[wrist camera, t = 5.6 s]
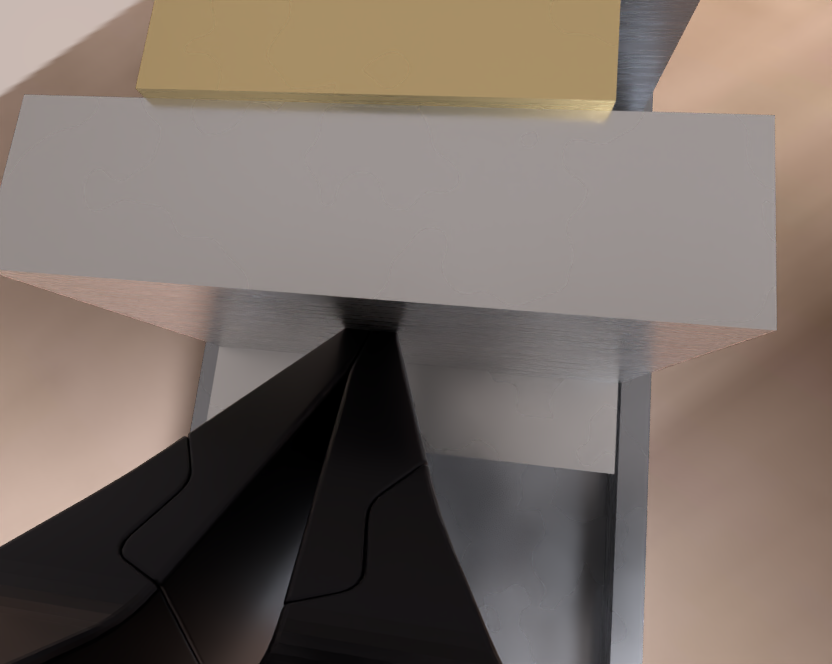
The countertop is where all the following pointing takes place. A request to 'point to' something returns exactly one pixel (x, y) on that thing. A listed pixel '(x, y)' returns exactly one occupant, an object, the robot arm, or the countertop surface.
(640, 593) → the tray
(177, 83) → the brass block
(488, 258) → the block
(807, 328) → the countertop surface
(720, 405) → the countertop surface
